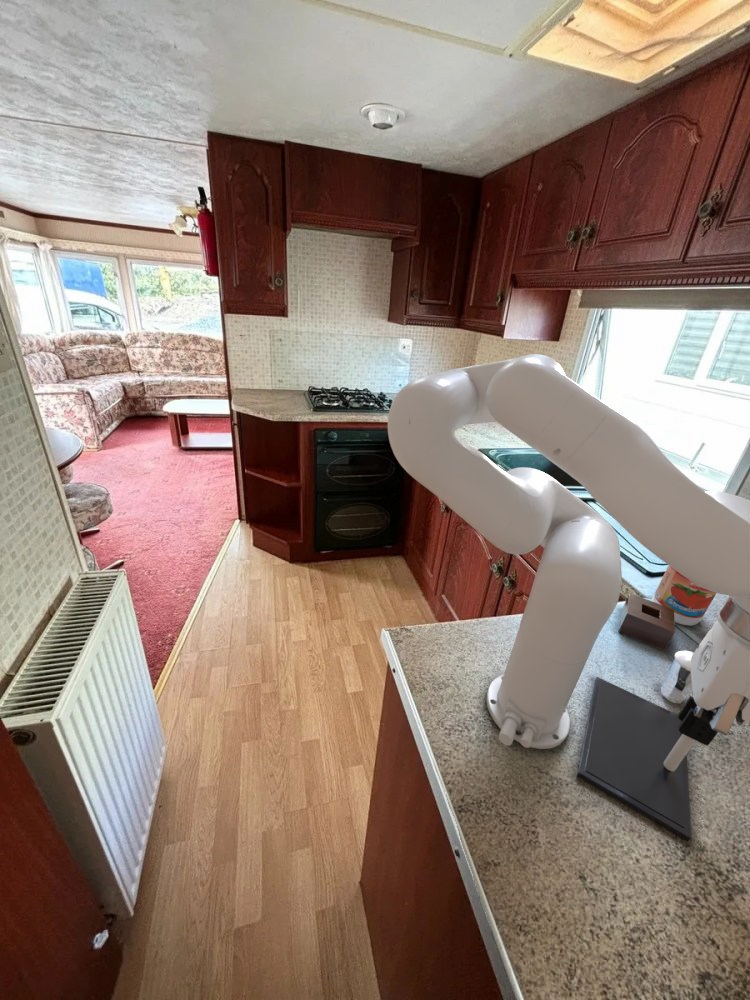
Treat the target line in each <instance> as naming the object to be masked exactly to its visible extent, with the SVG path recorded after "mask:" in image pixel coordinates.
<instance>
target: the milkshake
mask: <svg viewBox="0 0 750 1000" xmlns="http://www.w3.org/2000/svg"><path fill="white" fill-rule="evenodd" d="M693 654H694V652H693V651H690V650H679V651H677V652H675V653H674V656H673V658H672V661H671V664H670V666H669V668H668V671H667V673H666V676H665V678H664V680H663V683H662V684H661V687H660V693H661V696H663V698H665V699H666V700H667V701H669V702H670V703H672V704H681V703H683V701H684V700H685V699H686V698H687V696H688V695H689V694H690V692H691V691H692V679H691V658H692V655H693Z"/></svg>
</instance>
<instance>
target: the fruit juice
mask: <svg viewBox="0 0 750 1000" xmlns="http://www.w3.org/2000/svg"><path fill="white" fill-rule="evenodd" d="M716 595H717V593H716V592H712V591H710V590H707V589H705V588H703V587H701V586H699V585H697V584H695V583H693V582H692V581H690V580H689V579H687V578H686V577H684V576H683V575H682V574H680V573H679V572H677V571H676V570H675V569H673V568H672V567H671V566H669V565H668V566H667V568H666V569H665V572H664V574H663V576H662V578H661V580H660V581H659V584H658V586H657V587H656V590H655V592H654V593H653V596H652V598H651V601H652V602H655V603H658V604H660V605H663V606H666V607H668V608H671V609H674V621H675V623H676V624H679V625H683V626H695V625H698V624H699V623H700V622H701V621H702V619H703V617H704V615H705V614H706V612H707V610H708V609H709V607H710V606H711V604H712V602H713V600H714V598H715V596H716Z"/></svg>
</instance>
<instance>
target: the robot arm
mask: <svg viewBox="0 0 750 1000" xmlns="http://www.w3.org/2000/svg"><path fill="white" fill-rule="evenodd" d="M495 422H497V423H498V424H500V425H501V426H502V427H503V428H504V429H506V430H507V431H508V432H510V433H511V434H513V435H514V436H515V437H517V438H518V439H519V440H521V441H522V442H523V443H525V444H527V446H529V447H530V448H532V449H533V450H535V451H536V452H538V453H539V454H541V456H543V458H546V459H547V460H548V461H549V462H551V463H552V464H554V465H555V466H557V467H558V468H559V469H561V470H562V471H563V472H565V473H566V474H567V475H569V476H570V477H571V478H572V479H574V480H575V481H577V482H578V484H580V485H581V486H582V487H583V488H584V489H585V490H586V491H587V492H588V494H589V495H590V496H591V497H592V498H593V499H594V500H595V502H596V503H597V504H599V505H600V506H601V507H602V508H603V509H604V510H605V511H606V512H607V513H608V514H609V515H610V516H611V517H612V518H613V519H614V520H615V521H616V522H617V524H619V525H620V526H621V527H622V528H623V529H624V530H625V531H626V532H627V533H628V534H629V535H630V536H631V537H633V538H634V539H635V540H636V541H637V542H638V543H639V544H641V545H642V546H643V547H644V548H645V549H646V550H648V551H649V552H650V553H652V554H653V555H654V556H655V557H657V558H658V559H659V560H661V561H662V562H663V563H665V564H667V565H668V566H671V567H672V568H673V569H675V570H676V571H677V572H679V573H680V574H682V575H683V576H684V577H686V578H687V579H689V580H690V581H692V582H693V583H695V584H697V585H699V586H701V587H703V588H705V589H707V590H710V591H712V592H716V594H718V595H725V596H727V598H726V599H725V601H724V603H723V605H722V606H721V608H720V610H719V611H718V613H717V616H716V617H717V620H716V621H715V622H714V623H713V625H712V626H711V627H710V629H709V630H708V631H707V633H706V635H705V636H704V637H703V639H702V640H701V642H700V643H699V644H698V646H697V647H696V649H695V650H694V652H693V653H694V654H693V655H692V658H691V679H692V690H691V691H692V693H691V695H690V696H689V697H688V699H686V701H685V704H684V705H683V707H682V708H681V709H680V712H679V713H678V714H677V715H678V718H679V720H681V721H682V723H681V724H680V726H679V732H680V733H682V734H684V735H686V736H688V737H690V738H692V739H694V740H696V741H695V742H698V743H700V744H702V745H704V746H709V745H710V744H711V743H712V742H713V740H714V738H715V737H716V736H717V734H718V733H719V734H721V735H723V736H726V737H727V735H728V734H729V732H730V730H731V728H732V725H733V723H734V722H735V721H736V724H737V725H738V726H740V727H741V726H746V725H748V724H749V723H750V499H747V498H745V497H742V496H739V495H736V494H733V493H729V492H724V491H719V490H718V491H716V490H709V491H705V490H704V489H702V488H701V487H700V486H699V485H698V484H696V483H695V482H694V481H692V480H691V479H690V478H689V477H688V476H686V474H684V473H683V472H682V471H681V470H680V469H678V467H677V466H676V465H674V464H673V462H672V461H671V460H669V458H667V456H666V455H665V454H664V453H663V452H662V450H661V449H660V448H659V447H658V445H657V444H656V442H654V440H653V439H652V438H651V436H649V435H648V433H647V432H645V431H644V429H642V428H641V427H640V425H638V424H637V423H636V422H634V421H633V420H632V419H630V418H628V417H627V416H626V415H624V414H622V413H621V412H619V411H618V410H616V409H615V408H613V407H612V406H610V405H608V404H607V403H606V402H604V401H603V400H601V399H600V398H598V397H597V396H596V395H594V394H593V393H591V392H590V391H588V390H587V389H585V388H583V387H582V386H581V385H580V384H578V383H577V382H575V381H574V380H573V379H571V378H570V377H568V376H566V373H565V372H564V369H563V367H562V366H561V365H560V364H559V362H557V361H556V360H555V359H554V358H552V357H550V356H547V355H544V354H539V353H531V354H526V355H521V356H518V357H513V358H509V359H505V360H498V361H493V362H488V363H482V364H476V365H471V366H464V367H458V368H451V369H448V370H442V371H439V372H436V373H435V372H434V373H431V374H428V375H427V374H426V375H424V376H423V375H422V376H420V377H418V378H416V379H413V380H412V381H410V382H409V383H407V384H405V385H404V386H403V387H402V388H401V389H400V390H399V391H398V392H397V393H396V395H395V397H394V398H393V400H392V403H391V405H390V408H389V410H388V415H387V436H388V441H389V444H390V448H391V450H392V453H393V455H394V457H395V459H396V460H397V462H398V464H399V465H400V466H401V467H402V468H403V469H404V471H406V473H407V474H408V475H409V476H411V478H413V479H414V480H415V481H417V483H419V484H420V485H422V486H423V487H424V488H426V489H427V490H428V491H429V492H431V493H432V494H433V495H434V496H436V497H437V498H438V499H439V500H441V501H442V502H443V503H444V504H445V505H446V506H447V507H448V508H449V509H450V510H452V511H453V512H454V513H455V514H456V515H457V516H459V517H460V518H461V519H462V520H464V521H465V522H466V523H467V524H468V525H469V526H470V527H472V528H473V530H475V531H476V532H477V533H479V534H480V535H481V537H483V538H484V539H485V540H487V541H488V542H489V543H490V544H491V545H493V546H494V547H495V548H497V549H499V550H500V551H503V552H505V553H506V554H511V555H518V556H520V555H526V554H529V553H530V552H533V551H534V550H535V549H536V548H538V547H539V546H540V547H541V548H543V551H542V554H541V556H540V557H541V558H540V560H539V564H538V567H537V570H536V573H535V575H534V578H533V583H532V586H531V589H530V592H529V595H528V598H527V601H526V603H525V604H526V605H525V607H524V610H523V614H522V617H521V620H520V623H519V627H518V630H517V633H516V636H515V639H514V643H513V645H512V649H511V652H510V654H509V658H508V660H507V664H506V667H505V670H504V672H503V674H501V675H498V676H497V677H496V678H494V679H493V680H492V681H491V682H490V684H489V686H488V689H487V691H486V698H485V699H486V706H487V710H488V713H489V714H490V716H491V718H492V720H493V721H494V723H495V724H496V726H497V727H498V728H499V729H500V731H499V734H498V740H499V741H500V743H502V745H505V746H506V747H507V746H511V745H513V742H514V741H515V742H517V743H519V744H520V745H521V746H522V747H524V748H525V749H529V748H533V749H538V750H547V749H553V748H556V747H558V746H560V745H561V744H562V743H564V742H565V740H566V738H567V737H568V735H569V732H570V728H571V718H570V714H569V712H568V708H567V707H568V704H569V702H570V700H571V697H572V695H573V693H574V691H575V688H576V686H577V684H578V682H579V679H580V677H581V675H582V673H583V671H584V668H585V666H586V663H587V662H588V659H589V657H590V655H591V652H592V650H593V648H594V645H595V644H596V642H597V639H598V637H599V635H600V633H601V632H602V630H603V628H604V626H605V624H607V622H608V620H609V619H610V617H611V616H612V614H613V613H614V611H615V609H616V607H617V605H618V602H619V600H620V596H621V592H622V591H621V590H622V582H623V581H622V580H623V579H622V578H623V577H622V575H623V574H622V573H623V571H622V558H621V545H620V539H619V537H618V534H617V532H616V530H615V529H614V527H613V526H612V525H611V523H609V522H608V520H607V519H606V518H604V517H603V516H602V515H601V514H599V512H597V511H596V510H595V509H594V508H592V507H591V506H590V505H588V504H587V503H585V502H584V501H583V500H582V499H581V498H580V497H578V496H576V494H574V493H573V492H572V491H571V490H569V489H568V488H566V487H565V486H564V485H563V484H561V483H560V482H559V481H558V480H557V479H555V478H554V477H553V476H551V475H549V474H548V473H545V472H544V471H541V470H540V469H537V468H533V467H525V466H524V467H523V466H522V467H514V468H511V469H509V470H507V471H505V469H502V468H501V467H500V466H499V465H497V464H496V463H494V461H492V460H491V459H490V458H489V457H488V456H487V455H485V453H483V452H481V451H480V450H479V449H476V448H475V447H473V446H471V445H469V444H466V443H465V442H463V441H462V440H460V439H459V437H458V436H457V435H456V433H455V432H457V430H459V429H460V428H462V427H463V426H467V425H477V424H486V423H495ZM712 709H715V710H717V711H716V712H713V711H711V710H712Z"/></svg>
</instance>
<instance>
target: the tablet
mask: <svg viewBox="0 0 750 1000" xmlns="http://www.w3.org/2000/svg"><path fill="white" fill-rule="evenodd" d="M678 715H679V714H677V713H675V712H672V711H670V710H669V709H666V708H664V707H662V706H661V705H657V704H655V703H653V702H651V701H649V700H647V699H645V698H643V697H641V696H638V695H636V694H635V693H632V692H630V691H628V690H626V689H625V688H622V687H620V686H618V685H615V684H614V683H611V682H609V681H608V680H605V679H603V678H601V677H598V676H596V678H595V679H594V683H593V689H592V694H591V698H590V704H589V710H588V714H587V720H586V725H585V731H584V734H583V740H582V746H581V750H580V755H579V756H580V757H579V761H578V766H577V771H576V777H577V778H578V779H581V780H582V781H584V782H586V783H587V784H589V785H590V786H592V787H594V788H596V789H598V790H599V791H601V792H603V793H604V794H606V795H607V796H609V797H611V798H612V799H614V800H616V801H618V802H619V803H621V804H623V805H624V806H625V807H628V808H629V809H631V810H632V811H635V812H636V813H637V814H639V815H641V816H643V817H644V818H647V819H648V820H649V821H651V822H653V823H654V824H656V825H658V826H660V827H662V828H663V829H665V830H667V831H668V832H670V833H672V834H673V835H675V836H677V837H679V838H680V839H682V840H684V841H685V842H687V843H688V842H690V841H691V839H692V831H691V828H692V826H691V812H690V811H691V810H690V795H689V794H690V791H689V776H688V775H689V774H688V759H687V758H688V757H687V756H688V755H687V754H686V755H685V757H684V758H683V760H682V761H681V763H680V764H679V765H678V767H677V768H676V770H675V771H671V773H667V772H665V771H664V769H663V767H664V761H665V759H666V758H667V756H668V755H669V753H670V752H671V750H672V749H673V747H674V746H675V744H676V743H677V741H678V740H679V738H680V737H681V735H682V733H680V732H679V726H680V724H681V723H682V721H681V720H679V718H678Z"/></svg>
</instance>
